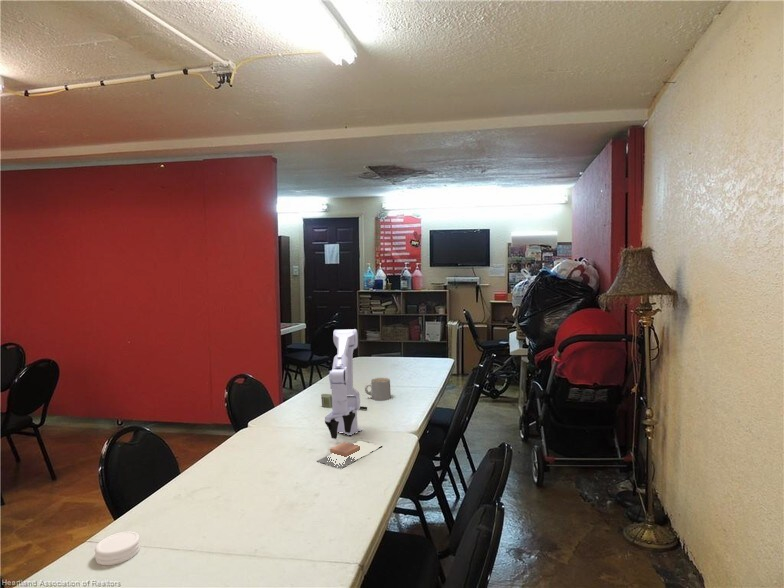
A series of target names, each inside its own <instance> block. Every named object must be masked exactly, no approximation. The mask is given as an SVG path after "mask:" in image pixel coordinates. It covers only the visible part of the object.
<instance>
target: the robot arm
mask: <svg viewBox="0 0 784 588" xmlns="http://www.w3.org/2000/svg"><path fill="white" fill-rule="evenodd" d="M358 338H359V337H358V329H356V328H354V329H351V328H350V329H349V328H348V329H334V330H333V336H332V340H333V344H334V346H335V347H336V349H337V352H336V353H337V354H336V355H335V356H334V357H333V362H332V369H331V370H329V375H328V378H329V379H328V380H329V386H330V390H331V394H332V408H331V409H332V411H330V413H328V414H327V415H325V416H324V424H325V425H326V427H327V429H328V431H329V433H330V437H331V439H334V440H337V438H338V433H337V432H343V433H345V434H348V435H347V436H349V435H351V436H353V435H355V434H357V433H359V432H358V431H360V432H361V430H362V431H363V429H362V428H359V425H358V411H360V410H361V409H360V406H361V397H360V396H361V395H360V391H359V390H357V389H356V388H355V387H354V374H353V373H354V371H353V369H354V368H353V367H354V365H353V364H354V362H353V361H354V360H353V359H354V358H353V356H354V354H353V353H354V350H356V349H357V348H358V347H359V346H358V343H359V342H358V341H359V340H358ZM356 432H357V433H356ZM354 433H355V434H354ZM345 434H344V435H345ZM352 434H353V435H352Z"/></svg>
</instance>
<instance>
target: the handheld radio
mask: <svg viewBox="0 0 784 588" xmlns="http://www.w3.org/2000/svg"><path fill="white" fill-rule="evenodd" d="M320 396H321V407H322V408H330V409H332V393H321V394H320ZM359 410H365V411H366V410H368V406H361V405H360V409H359Z"/></svg>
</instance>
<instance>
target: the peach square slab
mask: <svg viewBox="0 0 784 588" xmlns="http://www.w3.org/2000/svg"><path fill="white" fill-rule="evenodd" d="M359 450H360V446H358V445H354V444H352V443H350V442H345V441H343V442H341V443H339V444H337V445H335V446H333V447H331V448H329V453H330V454H332V453H334V454H337V455H341V456H344V457H347V456H349V455H351V454H353V453H355V452H357V451H359Z"/></svg>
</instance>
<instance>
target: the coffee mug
mask: <svg viewBox="0 0 784 588" xmlns="http://www.w3.org/2000/svg"><path fill="white" fill-rule="evenodd" d="M370 381H371V382H369V383H366V384H365V386H364V393H366V395H369V396H371V400H373V401H376V402H379V401H380V402H384V401H388V400H390V399H392V398H391V396H392V395H391V379H390V378H389V377H385V376H384V377H381V376H379V377H375V378H371V380H370ZM369 387H370V388H371V390H370V391H368V388H369Z"/></svg>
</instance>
